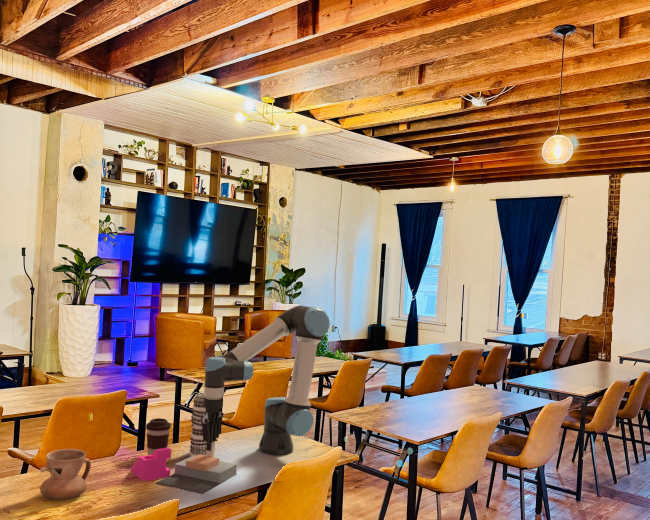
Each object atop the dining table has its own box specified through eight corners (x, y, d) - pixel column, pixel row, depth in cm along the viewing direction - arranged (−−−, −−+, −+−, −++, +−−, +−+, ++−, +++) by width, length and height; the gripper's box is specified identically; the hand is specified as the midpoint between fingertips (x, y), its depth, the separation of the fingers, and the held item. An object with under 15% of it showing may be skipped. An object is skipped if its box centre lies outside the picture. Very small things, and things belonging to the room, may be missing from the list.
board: (192, 465, 242) (193, 455, 242) (236, 474, 234) (236, 464, 234) (174, 474, 230) (174, 464, 230) (219, 484, 223) (220, 473, 223)
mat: (182, 470, 235) (182, 469, 235) (226, 480, 227) (226, 479, 227) (156, 483, 220) (156, 482, 220) (202, 493, 213) (202, 492, 213)
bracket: (169, 476, 229) (171, 449, 229) (143, 481, 222) (145, 453, 222) (156, 467, 238) (157, 441, 238) (130, 472, 231) (132, 445, 231)
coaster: (199, 460, 236) (199, 454, 236) (219, 464, 232) (219, 458, 232) (185, 467, 228) (185, 460, 228) (205, 471, 224) (206, 464, 224)
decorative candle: (184, 453, 257) (187, 394, 257) (203, 449, 263) (206, 391, 264) (195, 458, 250) (199, 398, 251) (215, 455, 256) (218, 395, 257)
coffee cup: (162, 461, 245) (164, 424, 245) (139, 458, 247) (141, 421, 247) (173, 454, 254) (175, 418, 255) (151, 451, 256) (153, 416, 257)
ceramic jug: (48, 509, 193) (52, 464, 194) (27, 495, 203) (31, 453, 203) (100, 495, 207) (103, 454, 208) (78, 483, 217) (81, 444, 217)
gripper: (214, 393, 243) (211, 452, 242) (195, 399, 231) (192, 461, 230) (230, 395, 240) (227, 455, 239) (212, 401, 228) (208, 464, 227)
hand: (209, 458), depth 235 cm, fingers closed
